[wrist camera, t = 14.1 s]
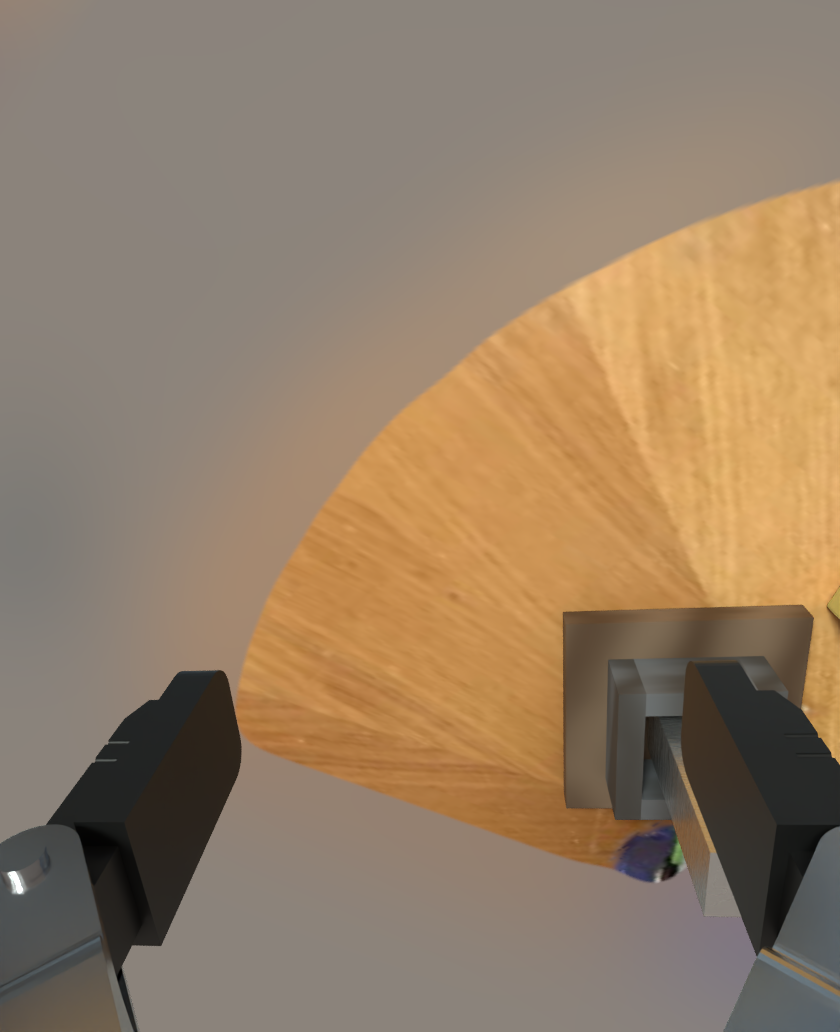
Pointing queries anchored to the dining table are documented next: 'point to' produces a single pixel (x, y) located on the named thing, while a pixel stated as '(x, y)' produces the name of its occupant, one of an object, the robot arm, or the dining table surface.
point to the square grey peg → (688, 818)
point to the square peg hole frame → (658, 688)
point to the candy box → (835, 604)
